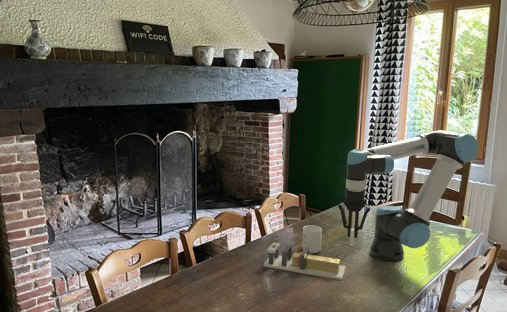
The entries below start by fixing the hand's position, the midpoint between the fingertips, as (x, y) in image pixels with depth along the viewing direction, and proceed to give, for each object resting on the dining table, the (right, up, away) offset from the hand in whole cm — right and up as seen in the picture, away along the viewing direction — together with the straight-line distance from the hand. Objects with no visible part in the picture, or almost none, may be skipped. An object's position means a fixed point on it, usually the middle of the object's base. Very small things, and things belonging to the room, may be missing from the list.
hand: (351, 244), depth 161 cm
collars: (-25, -11, +12) cm, 30 cm away
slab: (-18, -12, +10) cm, 24 cm away
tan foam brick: (-14, -11, +8) cm, 19 cm away
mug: (-13, -9, +29) cm, 33 cm away
